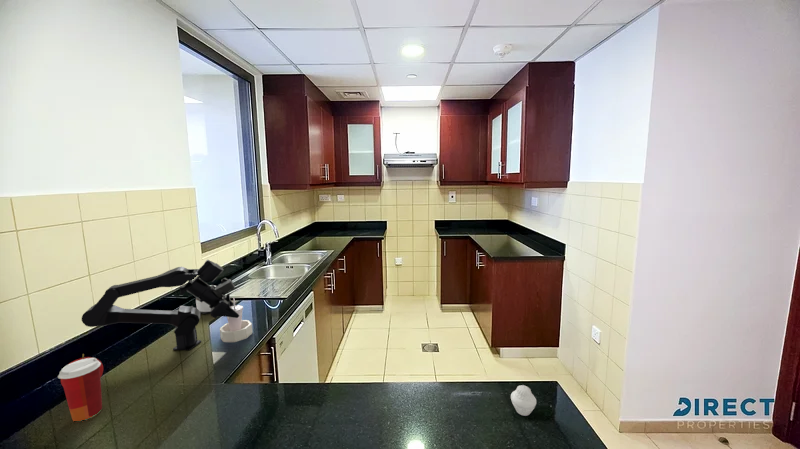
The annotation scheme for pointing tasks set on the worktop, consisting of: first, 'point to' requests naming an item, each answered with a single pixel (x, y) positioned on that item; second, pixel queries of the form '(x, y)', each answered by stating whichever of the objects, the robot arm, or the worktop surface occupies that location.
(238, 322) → the smoothie
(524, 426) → the worktop surface
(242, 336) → the bowl
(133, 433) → the worktop surface
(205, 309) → the spread jar
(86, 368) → the paper cup
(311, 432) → the worktop surface
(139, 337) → the worktop surface
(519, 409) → the white rounded blob
